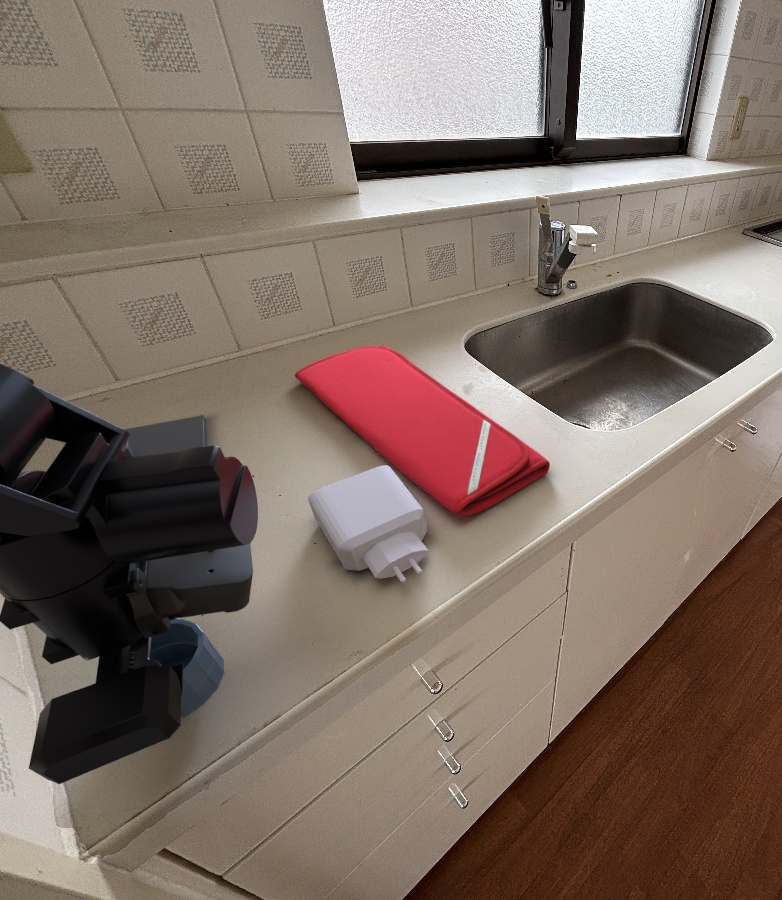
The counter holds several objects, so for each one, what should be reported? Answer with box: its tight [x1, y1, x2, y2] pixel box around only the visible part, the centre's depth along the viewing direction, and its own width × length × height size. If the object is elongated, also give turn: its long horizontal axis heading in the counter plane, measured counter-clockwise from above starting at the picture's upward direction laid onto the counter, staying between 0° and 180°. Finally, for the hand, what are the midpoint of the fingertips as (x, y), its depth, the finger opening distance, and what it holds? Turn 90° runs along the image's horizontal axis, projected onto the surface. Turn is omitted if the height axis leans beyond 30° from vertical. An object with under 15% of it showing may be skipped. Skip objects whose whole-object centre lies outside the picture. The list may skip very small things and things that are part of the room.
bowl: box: [150, 618, 225, 720], centre depth 39 cm, size 6×6×5 cm
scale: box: [122, 414, 208, 457], centre depth 61 cm, size 12×12×2 cm
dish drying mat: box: [294, 345, 551, 517], centre depth 71 cm, size 16×41×4 cm, turn 48°
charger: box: [307, 465, 429, 584], centre depth 54 cm, size 5×9×15 cm
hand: (173, 680), depth 40 cm, fingers closed on bowl, 6 cm apart
